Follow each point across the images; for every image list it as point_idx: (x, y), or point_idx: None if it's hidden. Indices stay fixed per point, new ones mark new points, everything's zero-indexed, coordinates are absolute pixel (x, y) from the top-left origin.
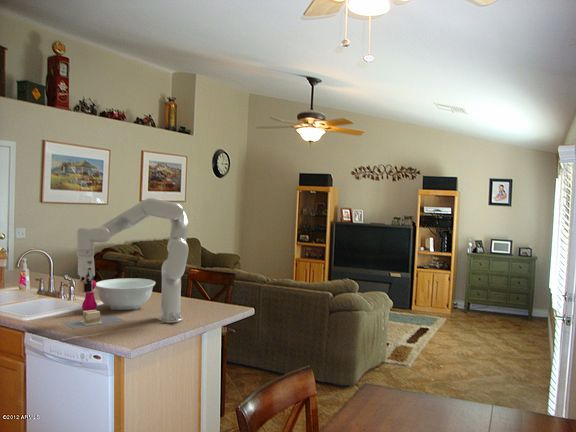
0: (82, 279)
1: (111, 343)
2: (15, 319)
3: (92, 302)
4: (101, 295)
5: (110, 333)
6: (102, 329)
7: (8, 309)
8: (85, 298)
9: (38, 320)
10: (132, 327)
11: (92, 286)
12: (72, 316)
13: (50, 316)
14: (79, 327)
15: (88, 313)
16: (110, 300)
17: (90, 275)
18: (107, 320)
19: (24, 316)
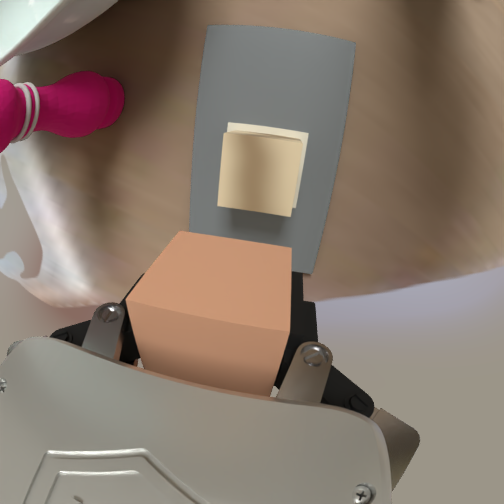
0: (120, 355)
1: (500, 257)
2: (77, 305)
3: (84, 97)
4: (42, 44)
5: (445, 194)
6: (381, 178)
7: (2, 268)
8: (49, 129)
9: (103, 275)
10: (436, 79)
11: (290, 283)
12: (94, 168)
13: (69, 227)
14: (315, 248)
15: (291, 211)
16: (103, 7)
17: (395, 472)
18: (287, 90)
19: (54, 277)
